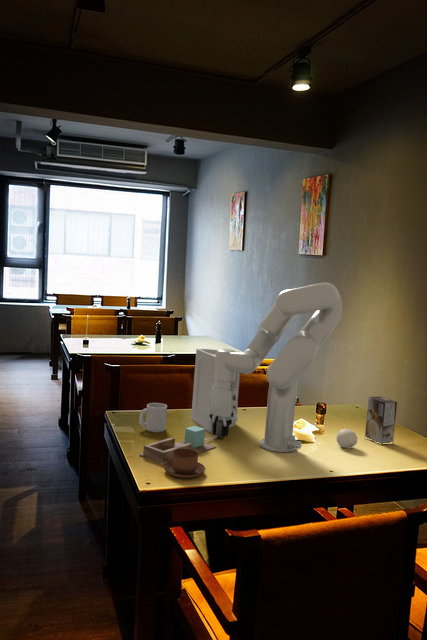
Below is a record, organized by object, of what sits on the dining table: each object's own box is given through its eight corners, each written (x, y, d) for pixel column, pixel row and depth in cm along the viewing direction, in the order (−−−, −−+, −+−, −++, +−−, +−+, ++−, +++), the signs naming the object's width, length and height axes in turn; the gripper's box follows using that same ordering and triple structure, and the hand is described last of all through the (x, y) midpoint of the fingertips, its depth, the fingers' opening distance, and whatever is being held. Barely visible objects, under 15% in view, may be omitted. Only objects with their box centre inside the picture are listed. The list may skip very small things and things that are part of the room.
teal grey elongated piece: (217, 433, 196) (218, 418, 195) (227, 436, 193) (228, 421, 192) (184, 444, 181) (185, 428, 180) (194, 448, 178) (195, 431, 178)
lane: (190, 439, 189) (191, 429, 189) (216, 447, 182) (216, 437, 182) (139, 455, 169) (140, 444, 169) (165, 465, 162) (166, 454, 162)
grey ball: (350, 452, 188) (352, 433, 187) (332, 446, 193) (334, 428, 192) (360, 448, 193) (362, 430, 192) (342, 443, 198) (343, 425, 197)
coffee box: (393, 444, 201) (398, 401, 200) (381, 445, 198) (385, 402, 197) (376, 436, 209) (380, 395, 208) (363, 437, 207) (367, 396, 205)
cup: (168, 431, 196) (169, 407, 195) (141, 433, 191) (142, 408, 191) (161, 426, 202) (163, 402, 201) (135, 427, 198) (137, 403, 197)
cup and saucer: (155, 471, 157) (156, 450, 157) (185, 463, 166) (187, 443, 165) (182, 485, 149) (183, 463, 148) (213, 475, 157) (214, 455, 157)
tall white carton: (245, 430, 204) (251, 357, 202) (209, 432, 198) (215, 357, 196) (224, 416, 222) (229, 349, 219) (190, 418, 216) (195, 348, 213)
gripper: (249, 387, 189) (245, 438, 191) (212, 378, 199) (208, 427, 201) (237, 390, 183) (232, 443, 185) (199, 381, 193) (195, 431, 195)
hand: (220, 434), depth 193 cm, fingers closed on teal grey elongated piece, 3 cm apart
